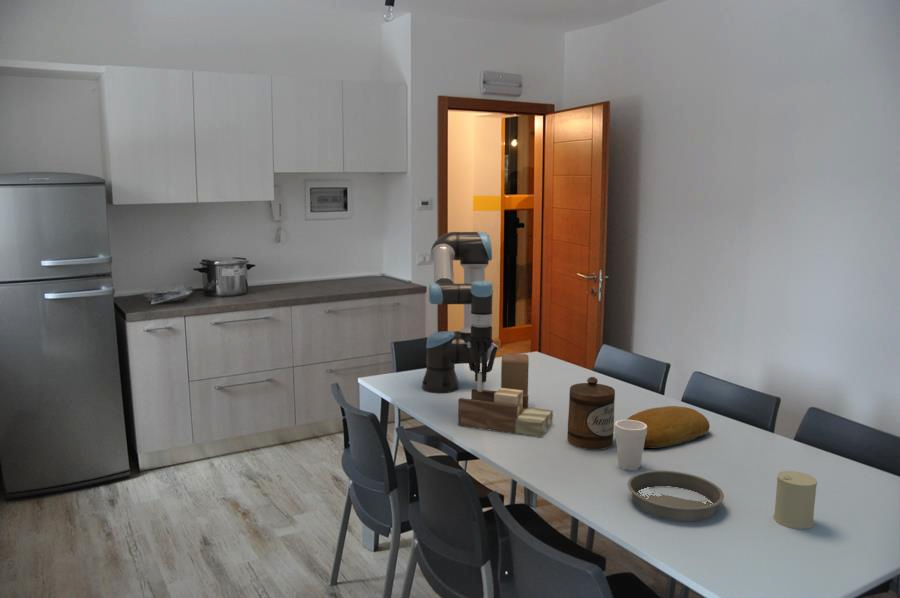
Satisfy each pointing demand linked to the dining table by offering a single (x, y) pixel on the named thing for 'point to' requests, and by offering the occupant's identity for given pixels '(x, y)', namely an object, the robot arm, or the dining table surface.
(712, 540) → the dining table surface
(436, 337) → the robot arm
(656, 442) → the bread
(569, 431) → the wooden container
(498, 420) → the chute
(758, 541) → the dining table surface
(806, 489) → the can
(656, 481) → the cake pan
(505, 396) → the birch block
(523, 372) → the wooden block
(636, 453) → the foam cup
